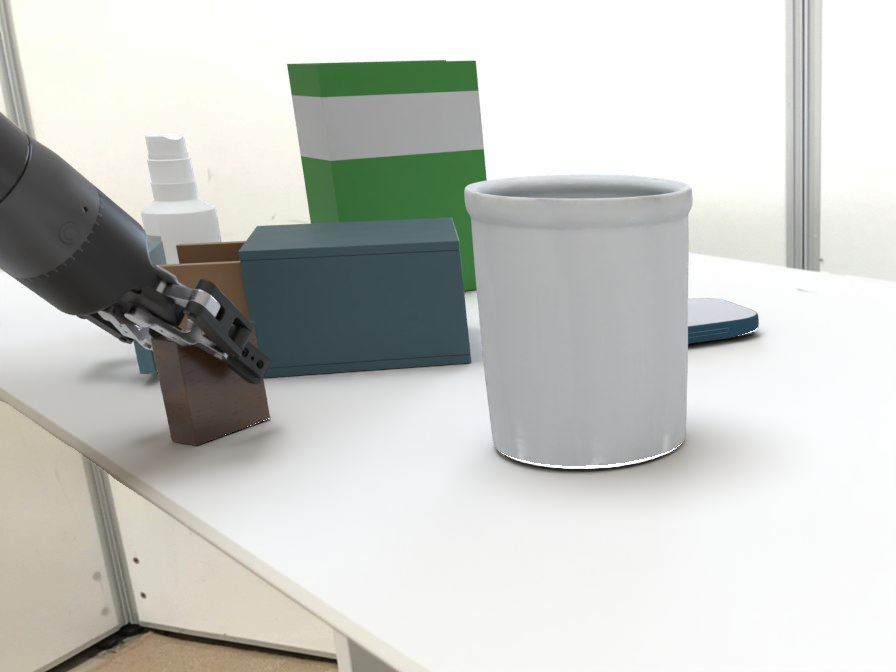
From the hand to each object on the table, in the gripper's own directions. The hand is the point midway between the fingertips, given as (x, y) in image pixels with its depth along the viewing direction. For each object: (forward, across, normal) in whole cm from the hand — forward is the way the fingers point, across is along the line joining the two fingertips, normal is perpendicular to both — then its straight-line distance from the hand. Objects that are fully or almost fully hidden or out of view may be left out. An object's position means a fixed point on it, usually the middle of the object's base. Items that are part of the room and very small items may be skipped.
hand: (231, 368), depth 88 cm
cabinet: (+18, +6, -12) cm, 23 cm away
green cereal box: (+35, +21, -28) cm, 50 cm away
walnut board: (+2, 0, +4) cm, 5 cm away
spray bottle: (+20, +31, -14) cm, 40 cm away
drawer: (+12, +16, -7) cm, 21 cm away
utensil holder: (+8, -26, -2) cm, 28 cm away
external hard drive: (+28, -14, -21) cm, 38 cm away
